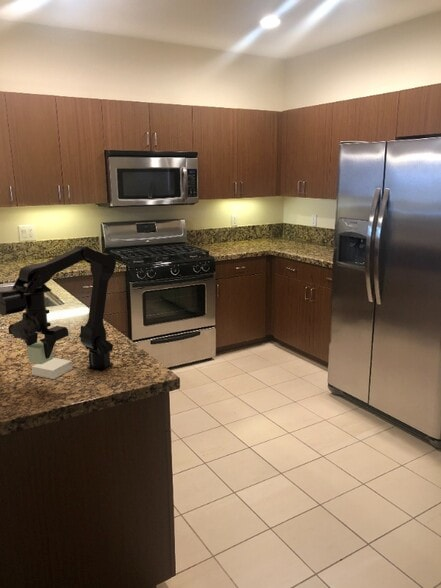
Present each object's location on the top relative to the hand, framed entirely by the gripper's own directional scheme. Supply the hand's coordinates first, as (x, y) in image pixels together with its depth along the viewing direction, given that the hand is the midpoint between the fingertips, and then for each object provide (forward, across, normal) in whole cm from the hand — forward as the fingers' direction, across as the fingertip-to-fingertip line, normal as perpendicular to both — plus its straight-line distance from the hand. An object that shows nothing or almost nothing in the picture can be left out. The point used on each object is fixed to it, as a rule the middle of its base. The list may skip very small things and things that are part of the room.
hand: (40, 357), depth 145 cm
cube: (+1, 0, 0) cm, 1 cm away
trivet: (+10, -6, +10) cm, 15 cm away
